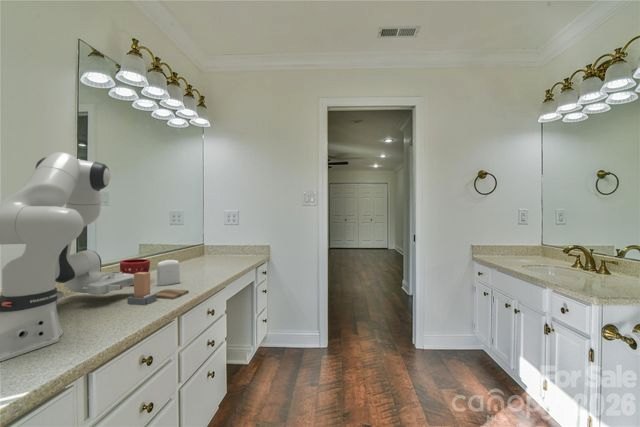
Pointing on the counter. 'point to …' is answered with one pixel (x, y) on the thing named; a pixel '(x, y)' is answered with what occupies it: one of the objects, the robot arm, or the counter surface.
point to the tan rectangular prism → (141, 284)
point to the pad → (171, 293)
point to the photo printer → (168, 272)
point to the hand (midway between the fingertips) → (130, 284)
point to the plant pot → (134, 266)
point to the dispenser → (142, 299)
